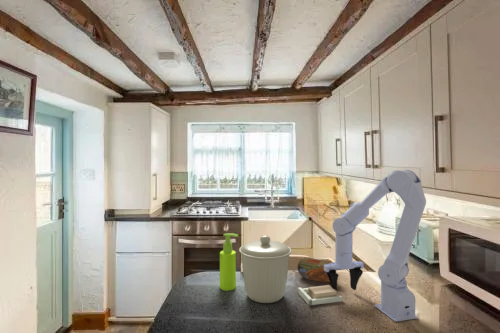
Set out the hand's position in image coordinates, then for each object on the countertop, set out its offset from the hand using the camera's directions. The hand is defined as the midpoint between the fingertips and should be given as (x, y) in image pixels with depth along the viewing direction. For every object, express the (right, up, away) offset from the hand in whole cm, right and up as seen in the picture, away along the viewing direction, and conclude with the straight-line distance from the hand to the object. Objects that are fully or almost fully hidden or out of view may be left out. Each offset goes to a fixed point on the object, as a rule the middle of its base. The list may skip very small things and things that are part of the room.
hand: (343, 289), depth 101 cm
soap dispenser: (-41, -2, +6) cm, 41 cm away
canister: (-28, -2, -2) cm, 28 cm away
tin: (-7, -2, +13) cm, 14 cm away
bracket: (-9, -2, -2) cm, 9 cm away
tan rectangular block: (-8, -2, -2) cm, 9 cm away
